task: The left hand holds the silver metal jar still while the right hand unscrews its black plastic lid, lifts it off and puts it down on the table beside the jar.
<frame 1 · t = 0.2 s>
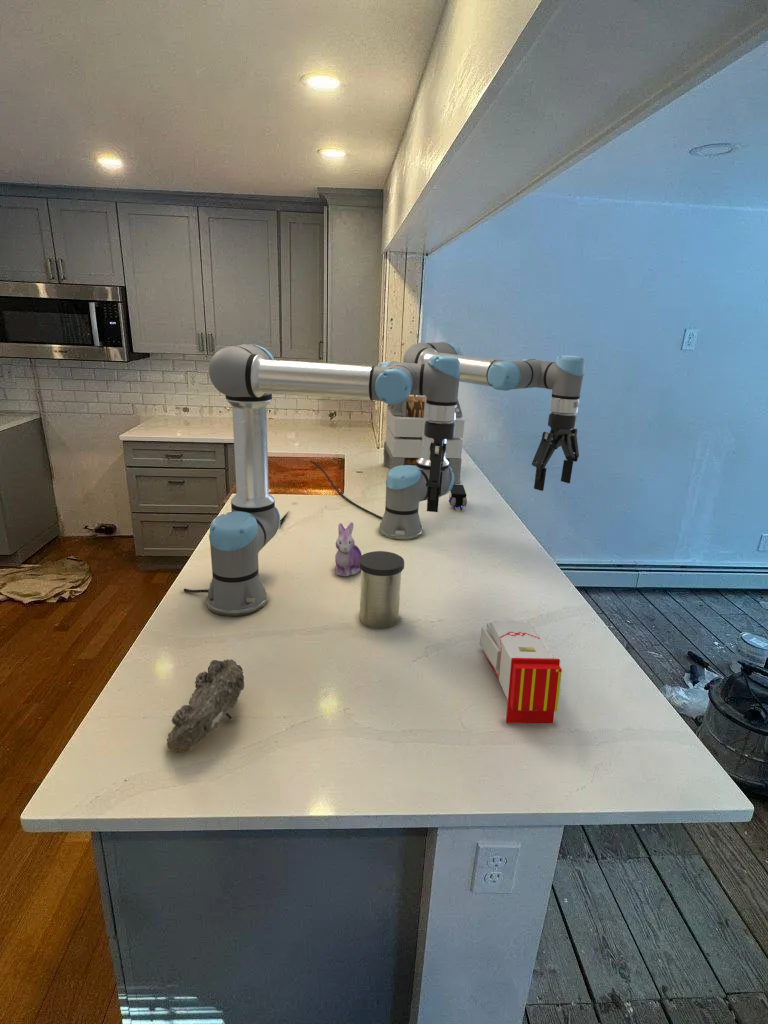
left hand: (433, 502, 147), 28 cm above the counter, tool pointing down, fingers open, 13 cm apart
right hand: (552, 485, 166), 28 cm above the counter, tool pointing down, fingers open, 13 cm apart
toy: (512, 681, 123), on the counter
lid: (381, 561, 140), point 16 cm above the counter, screwed on, not yet turned
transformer: (419, 473, 275), on the counter
jar: (379, 618, 145), on the counter
fossil: (212, 717, 108), on the counter
figurine character: (456, 506, 231), on the counter
feather: (286, 515, 212), on the counter
figurine: (348, 570, 170), on the counter
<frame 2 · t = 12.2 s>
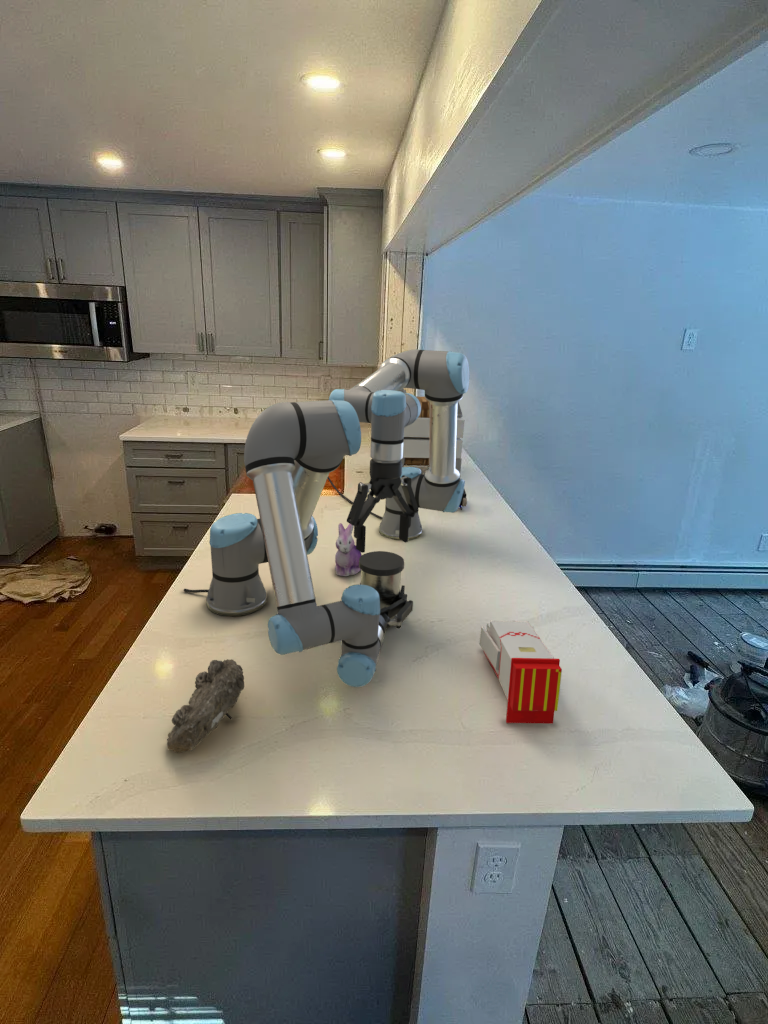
left hand: (382, 587, 147), 7 cm above the counter, tool horizontal, fingers closed on jar, 10 cm apart
right hand: (382, 545, 138), 20 cm above the counter, tool pointing down, fingers open, 12 cm apart
jar: (379, 618, 145), on the counter, touching left hand
everything else where it was.
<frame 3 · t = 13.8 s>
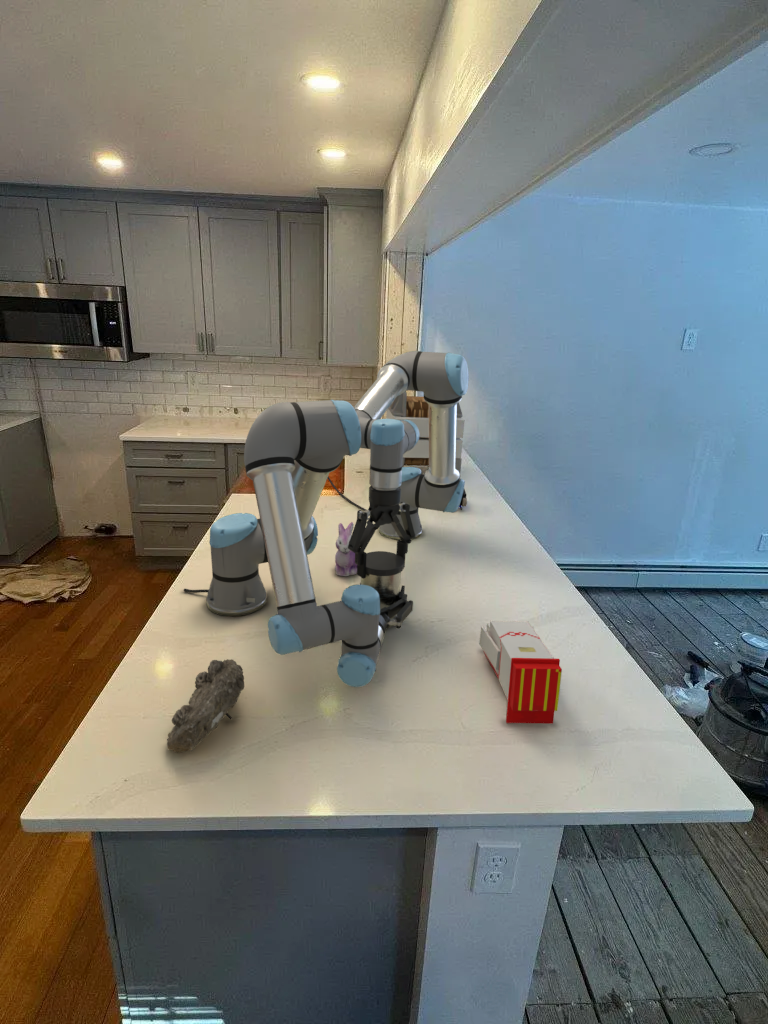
left hand: (382, 587, 147), 7 cm above the counter, tool horizontal, fingers closed on jar, 10 cm apart
right hand: (381, 570, 140), 14 cm above the counter, tool pointing down, fingers closed on lid, 11 cm apart
lid: (381, 561, 139), point 16 cm above the counter, screwed on, not yet turned, touching right hand
jar: (379, 618, 145), on the counter, touching left hand
everything else where it was.
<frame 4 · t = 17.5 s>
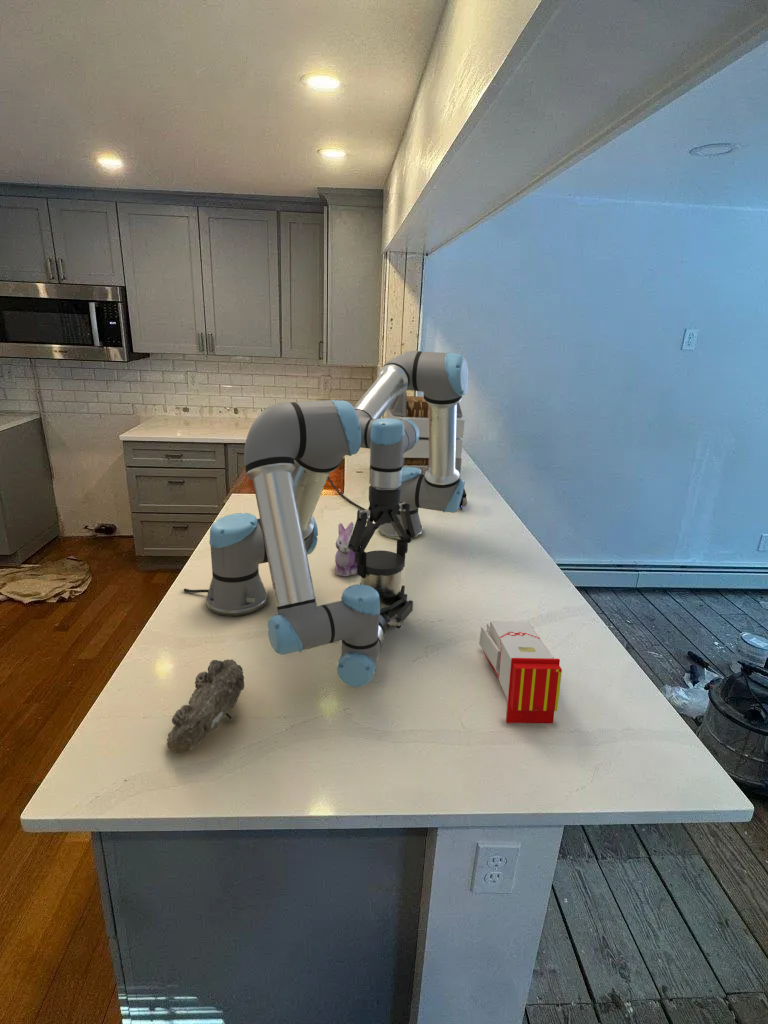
left hand: (382, 587, 147), 7 cm above the counter, tool horizontal, fingers closed on jar, 10 cm apart
right hand: (381, 570, 140), 14 cm above the counter, tool pointing down, fingers closed on lid, 11 cm apart
lid: (381, 560, 139), point 16 cm above the counter, turned 123° so far, risen 0.2 cm, still on its thread, touching right hand
jar: (379, 618, 145), on the counter, touching left hand
everything else where it was.
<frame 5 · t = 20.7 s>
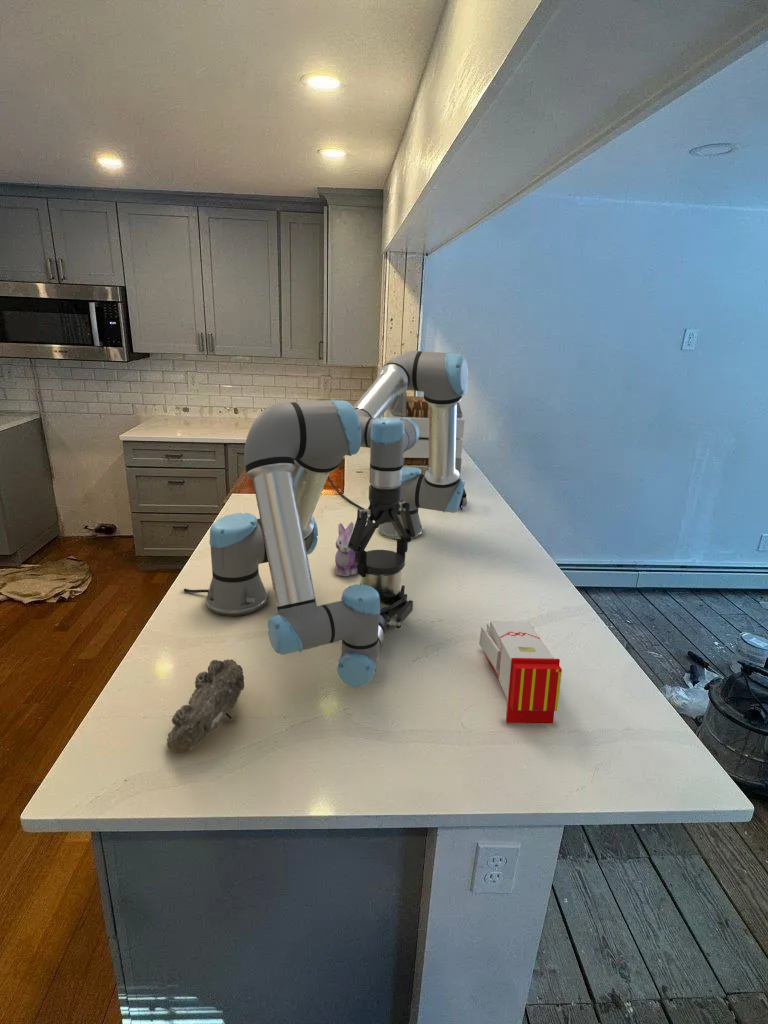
left hand: (382, 587, 147), 7 cm above the counter, tool horizontal, fingers closed on jar, 10 cm apart
right hand: (381, 569, 140), 14 cm above the counter, tool pointing down, fingers closed on lid, 11 cm apart
lid: (381, 560, 139), point 16 cm above the counter, turned 246° so far, risen 0.4 cm, still on its thread, touching right hand
jar: (379, 618, 145), on the counter, touching left hand
everything else where it was.
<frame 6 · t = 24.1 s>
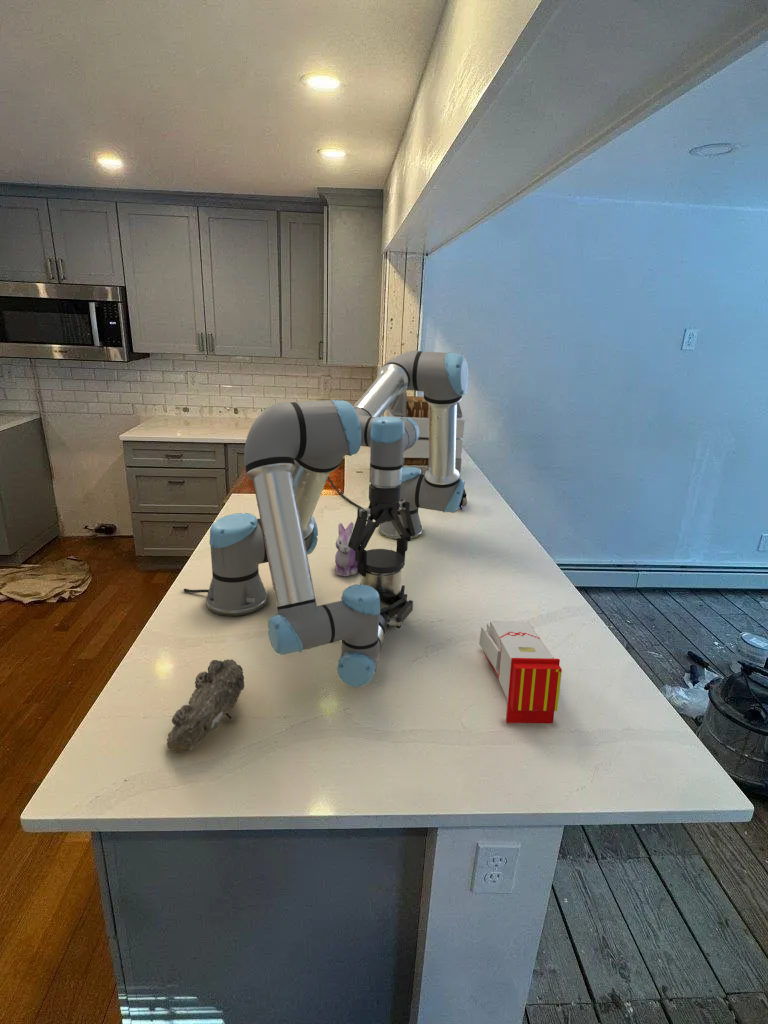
left hand: (382, 587, 147), 7 cm above the counter, tool horizontal, fingers closed on jar, 10 cm apart
right hand: (381, 568, 140), 14 cm above the counter, tool pointing down, fingers closed on lid, 11 cm apart
lid: (381, 559, 139), point 17 cm above the counter, turned 369° so far, risen 0.6 cm, still on its thread, touching right hand
jar: (379, 618, 145), on the counter, touching left hand
everything else where it was.
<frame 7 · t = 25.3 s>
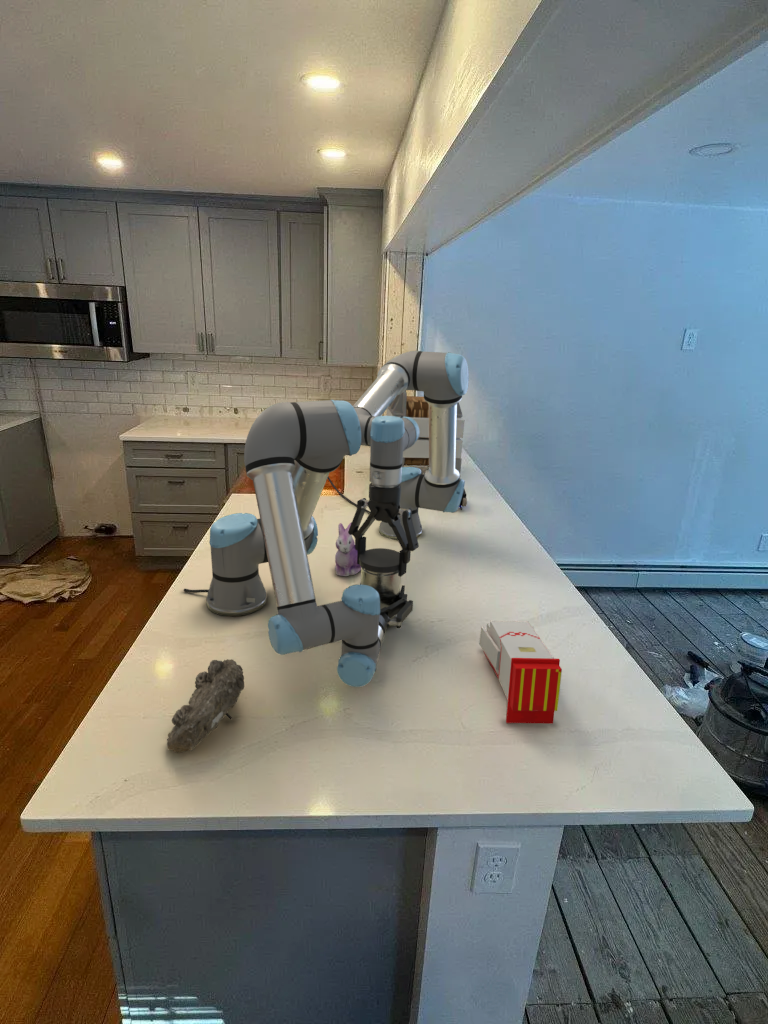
left hand: (382, 587, 147), 7 cm above the counter, tool horizontal, fingers closed on jar, 10 cm apart
right hand: (381, 568, 140), 14 cm above the counter, tool pointing down, fingers closed on lid, 11 cm apart
lid: (381, 558, 139), point 17 cm above the counter, off its thread, touching right hand
jar: (379, 618, 145), on the counter, touching left hand
everything else where it was.
when the right hand's fingers open (0 cm above the counter, at t = 31.6 s): lid drops 2 cm, point 1 cm above the counter.
when the left hand's fingers open (7 cm above the counter, at t = 32.6 s): jar stays where it is, on the counter.
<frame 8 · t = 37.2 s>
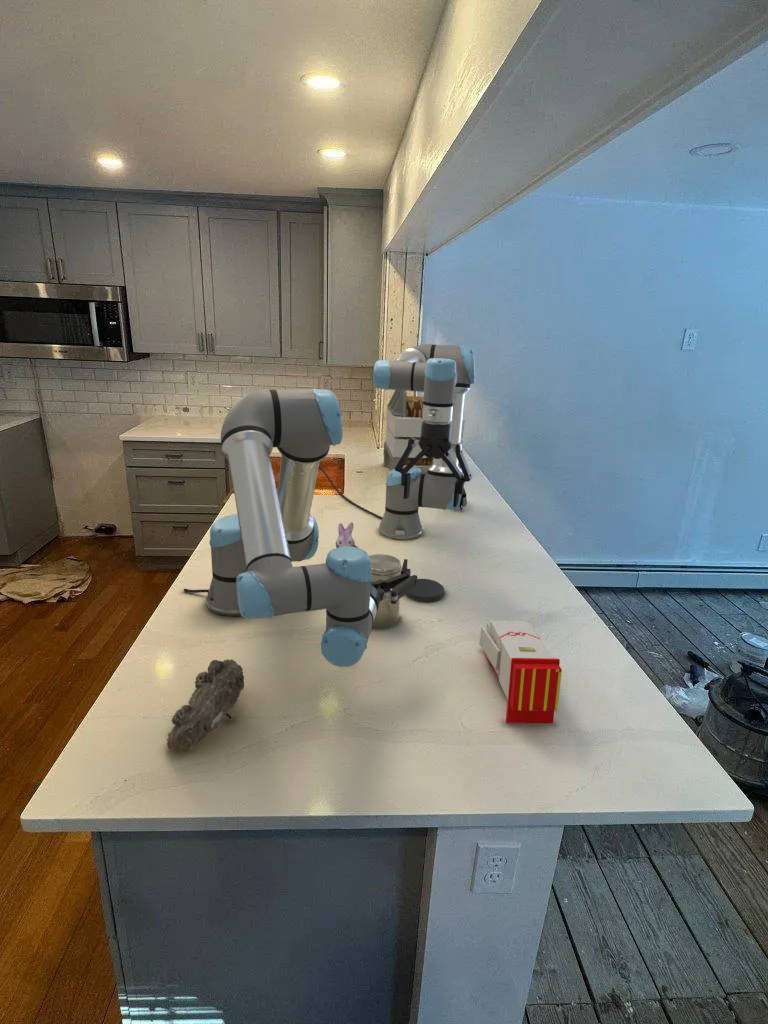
left hand: (375, 561, 129), 21 cm above the counter, tool horizontal, fingers open, 13 cm apart
right hand: (430, 501, 150), 27 cm above the counter, tool pointing down, fingers open, 13 cm apart
lid: (424, 588, 159), point 1 cm above the counter, off its thread
jar: (379, 618, 145), on the counter
everything else where it was.
at the end: lid came off its thread; lid point 1.2 cm above the counter; the left hand is holding nothing; the right hand is holding nothing; jar tilted 0°; jar moved 0.0 cm from its start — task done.
